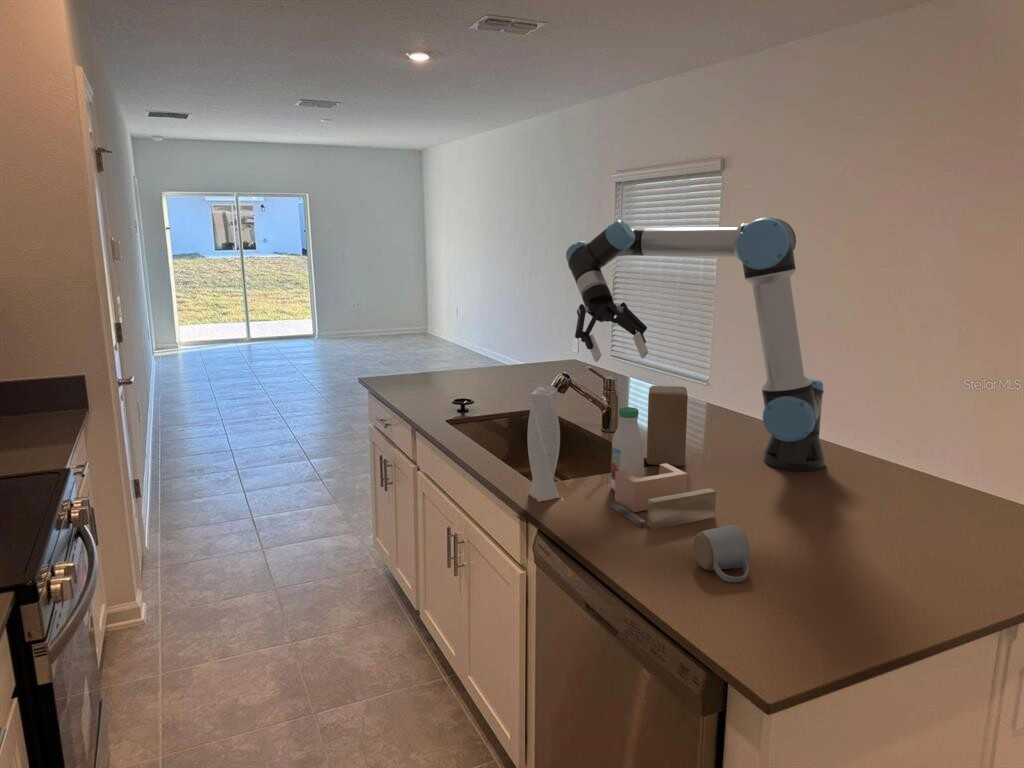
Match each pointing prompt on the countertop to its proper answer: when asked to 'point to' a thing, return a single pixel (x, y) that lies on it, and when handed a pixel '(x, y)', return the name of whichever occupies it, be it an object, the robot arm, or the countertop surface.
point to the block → (667, 425)
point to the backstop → (674, 509)
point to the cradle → (648, 487)
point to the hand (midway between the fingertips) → (622, 356)
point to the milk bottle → (627, 445)
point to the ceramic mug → (723, 550)
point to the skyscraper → (543, 441)
